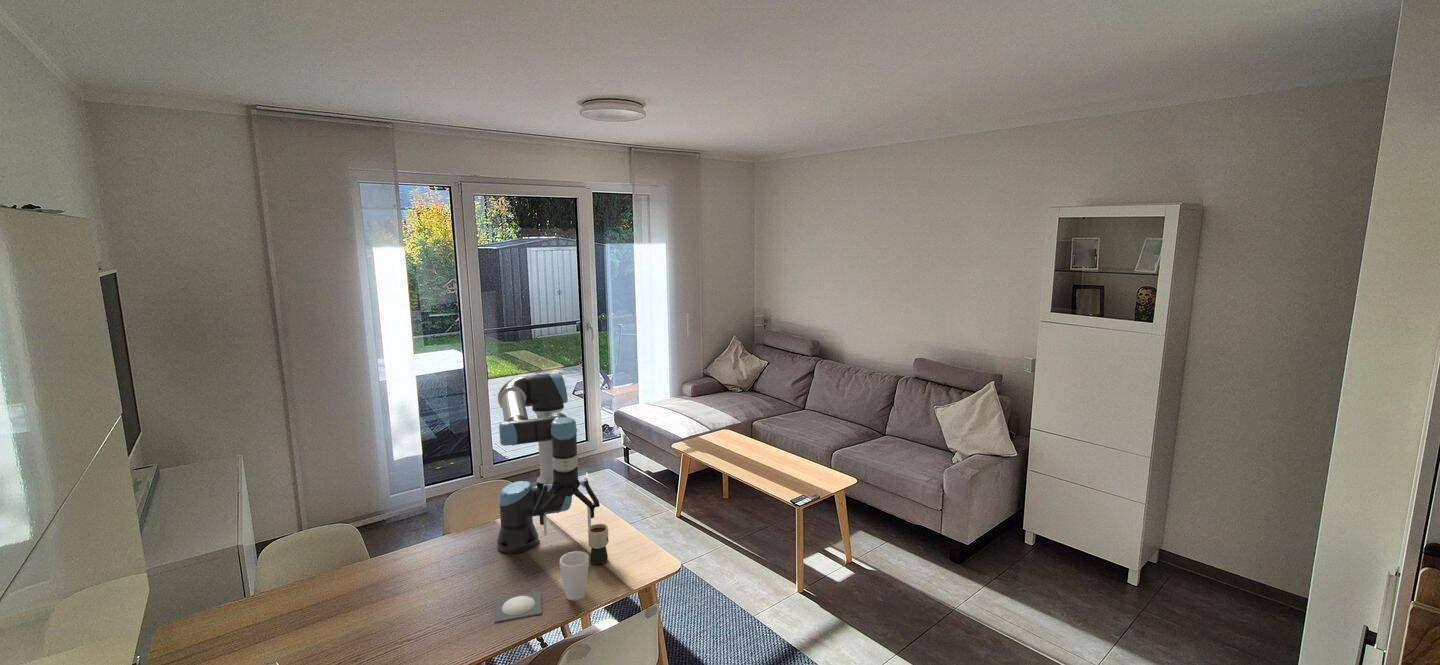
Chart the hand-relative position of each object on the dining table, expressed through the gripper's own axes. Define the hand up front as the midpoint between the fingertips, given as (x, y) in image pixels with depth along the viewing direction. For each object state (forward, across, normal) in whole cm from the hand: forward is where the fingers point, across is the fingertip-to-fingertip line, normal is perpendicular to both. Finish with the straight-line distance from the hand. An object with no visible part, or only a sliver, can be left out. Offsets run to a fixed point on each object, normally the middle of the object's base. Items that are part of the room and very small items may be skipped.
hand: (567, 530), depth 192 cm
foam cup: (+25, +2, +3) cm, 26 cm away
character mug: (+26, +12, +21) cm, 35 cm away
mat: (+25, -16, +2) cm, 30 cm away
